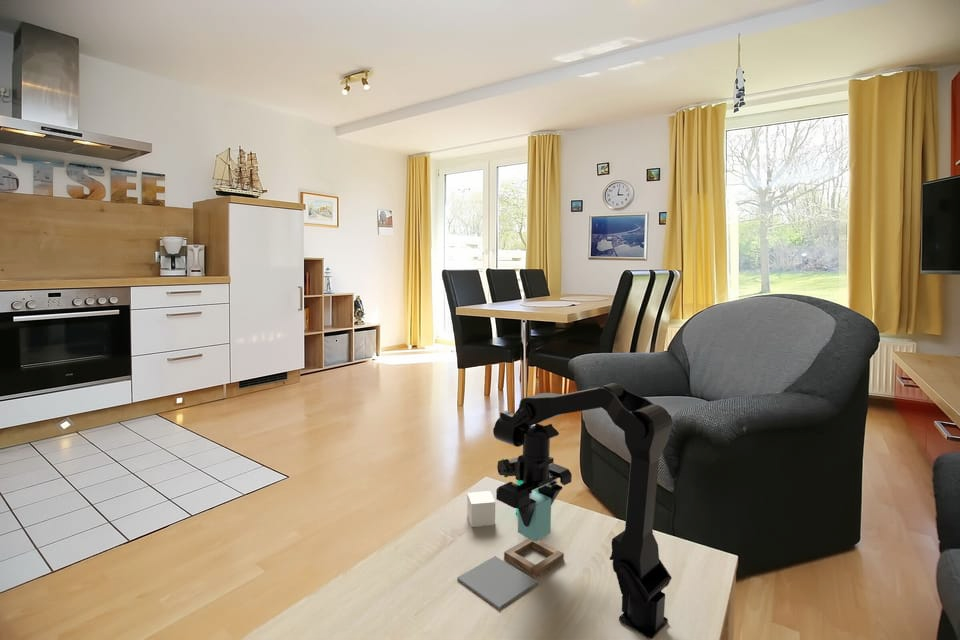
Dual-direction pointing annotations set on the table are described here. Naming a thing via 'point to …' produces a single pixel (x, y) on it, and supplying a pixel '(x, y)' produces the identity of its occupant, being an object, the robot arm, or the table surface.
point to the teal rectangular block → (537, 518)
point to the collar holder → (528, 566)
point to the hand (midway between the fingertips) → (534, 521)
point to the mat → (497, 582)
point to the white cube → (481, 508)
